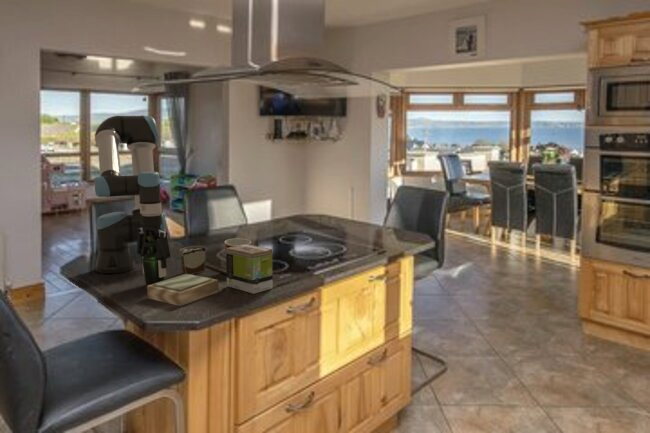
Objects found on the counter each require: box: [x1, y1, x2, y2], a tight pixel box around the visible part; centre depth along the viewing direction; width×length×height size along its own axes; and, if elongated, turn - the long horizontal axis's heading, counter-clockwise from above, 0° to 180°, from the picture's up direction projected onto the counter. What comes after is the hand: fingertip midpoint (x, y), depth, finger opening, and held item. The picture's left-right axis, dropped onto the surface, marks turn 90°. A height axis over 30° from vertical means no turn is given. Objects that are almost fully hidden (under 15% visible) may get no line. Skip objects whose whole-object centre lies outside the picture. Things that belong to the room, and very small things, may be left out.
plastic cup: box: [224, 237, 252, 249], centre depth 224 cm, size 11×11×12 cm
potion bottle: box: [141, 236, 165, 286], centre depth 203 cm, size 8×8×18 cm
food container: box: [178, 245, 208, 275], centre depth 221 cm, size 12×6×10 cm, turn 141°
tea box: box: [225, 244, 274, 294], centre depth 200 cm, size 15×10×15 cm, turn 48°
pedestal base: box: [146, 274, 220, 307], centre depth 192 cm, size 16×18×5 cm
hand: (154, 274), depth 204 cm, fingers closed on potion bottle, 8 cm apart
